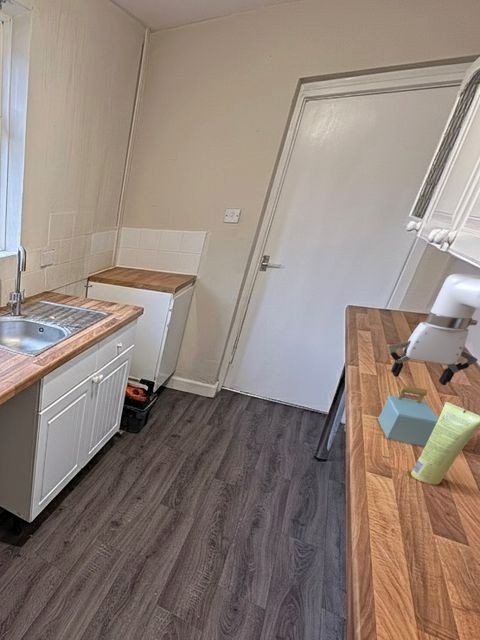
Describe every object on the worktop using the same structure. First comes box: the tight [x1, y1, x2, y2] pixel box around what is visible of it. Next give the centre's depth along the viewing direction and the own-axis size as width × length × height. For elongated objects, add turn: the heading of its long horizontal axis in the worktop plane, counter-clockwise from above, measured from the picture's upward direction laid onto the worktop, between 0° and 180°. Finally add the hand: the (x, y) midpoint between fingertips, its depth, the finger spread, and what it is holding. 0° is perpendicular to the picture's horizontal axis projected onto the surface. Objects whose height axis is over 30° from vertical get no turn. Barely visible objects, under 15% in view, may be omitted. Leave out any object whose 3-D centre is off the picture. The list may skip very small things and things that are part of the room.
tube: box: [410, 401, 480, 486], centre depth 96 cm, size 6×5×20 cm
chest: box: [377, 398, 436, 448], centre depth 117 cm, size 13×8×8 cm, turn 146°
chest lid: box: [386, 385, 439, 424], centre depth 115 cm, size 14×8×5 cm, turn 145°
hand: (417, 379), depth 117 cm, fingers open, 9 cm apart
